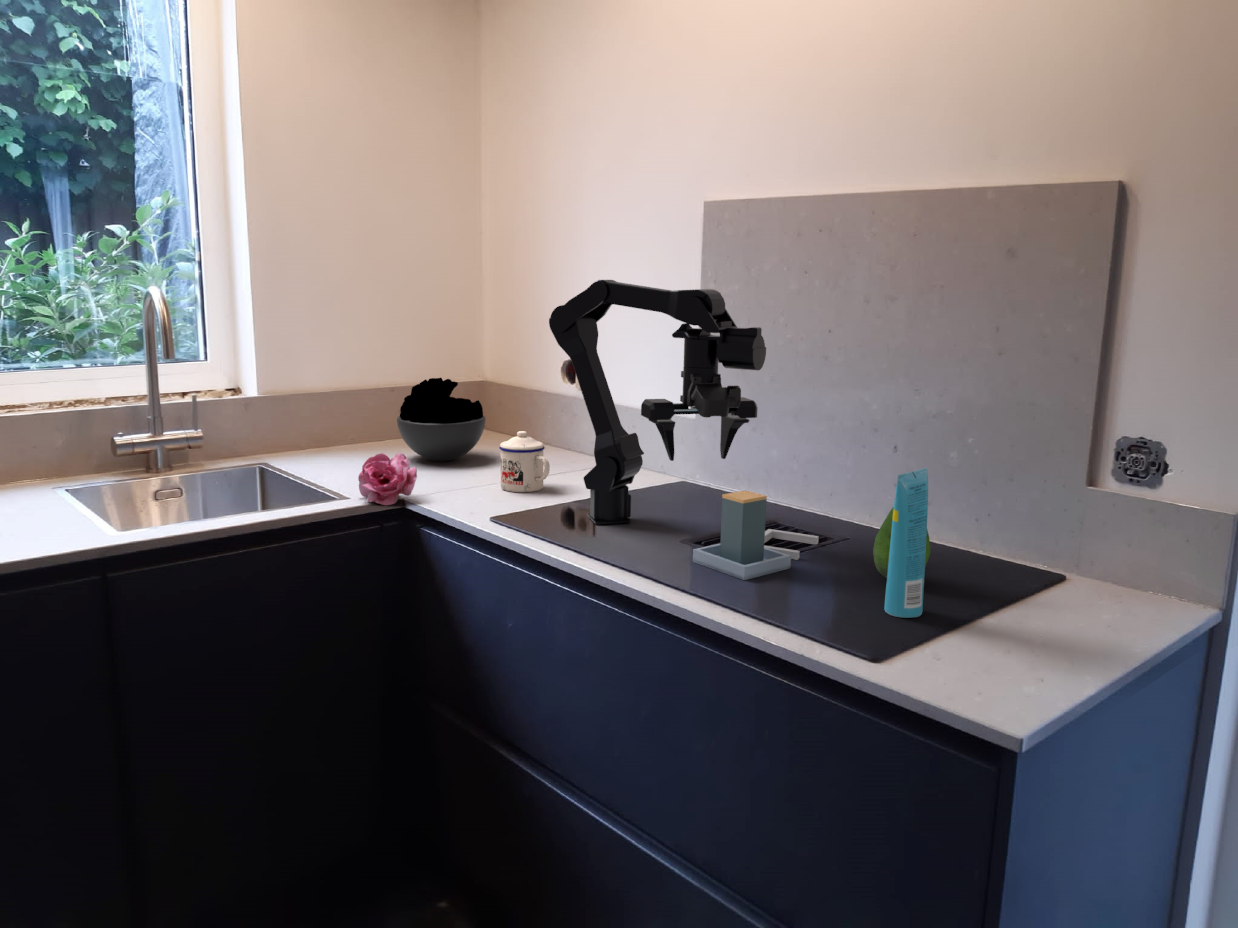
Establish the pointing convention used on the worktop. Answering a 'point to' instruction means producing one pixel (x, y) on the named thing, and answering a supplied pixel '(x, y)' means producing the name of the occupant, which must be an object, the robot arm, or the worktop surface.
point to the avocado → (883, 545)
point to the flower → (386, 478)
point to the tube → (908, 546)
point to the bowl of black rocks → (440, 421)
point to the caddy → (743, 527)
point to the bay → (791, 537)
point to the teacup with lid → (523, 464)
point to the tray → (770, 564)
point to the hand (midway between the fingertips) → (697, 459)
